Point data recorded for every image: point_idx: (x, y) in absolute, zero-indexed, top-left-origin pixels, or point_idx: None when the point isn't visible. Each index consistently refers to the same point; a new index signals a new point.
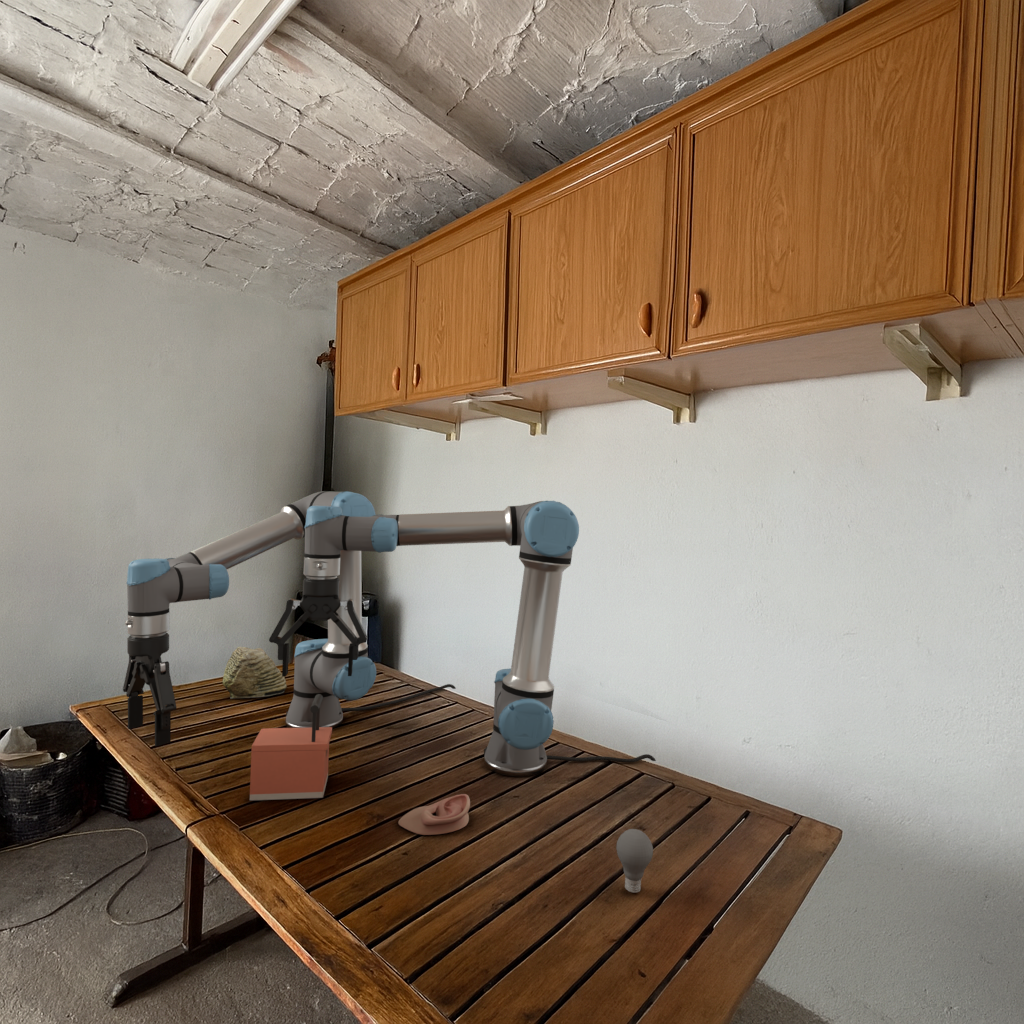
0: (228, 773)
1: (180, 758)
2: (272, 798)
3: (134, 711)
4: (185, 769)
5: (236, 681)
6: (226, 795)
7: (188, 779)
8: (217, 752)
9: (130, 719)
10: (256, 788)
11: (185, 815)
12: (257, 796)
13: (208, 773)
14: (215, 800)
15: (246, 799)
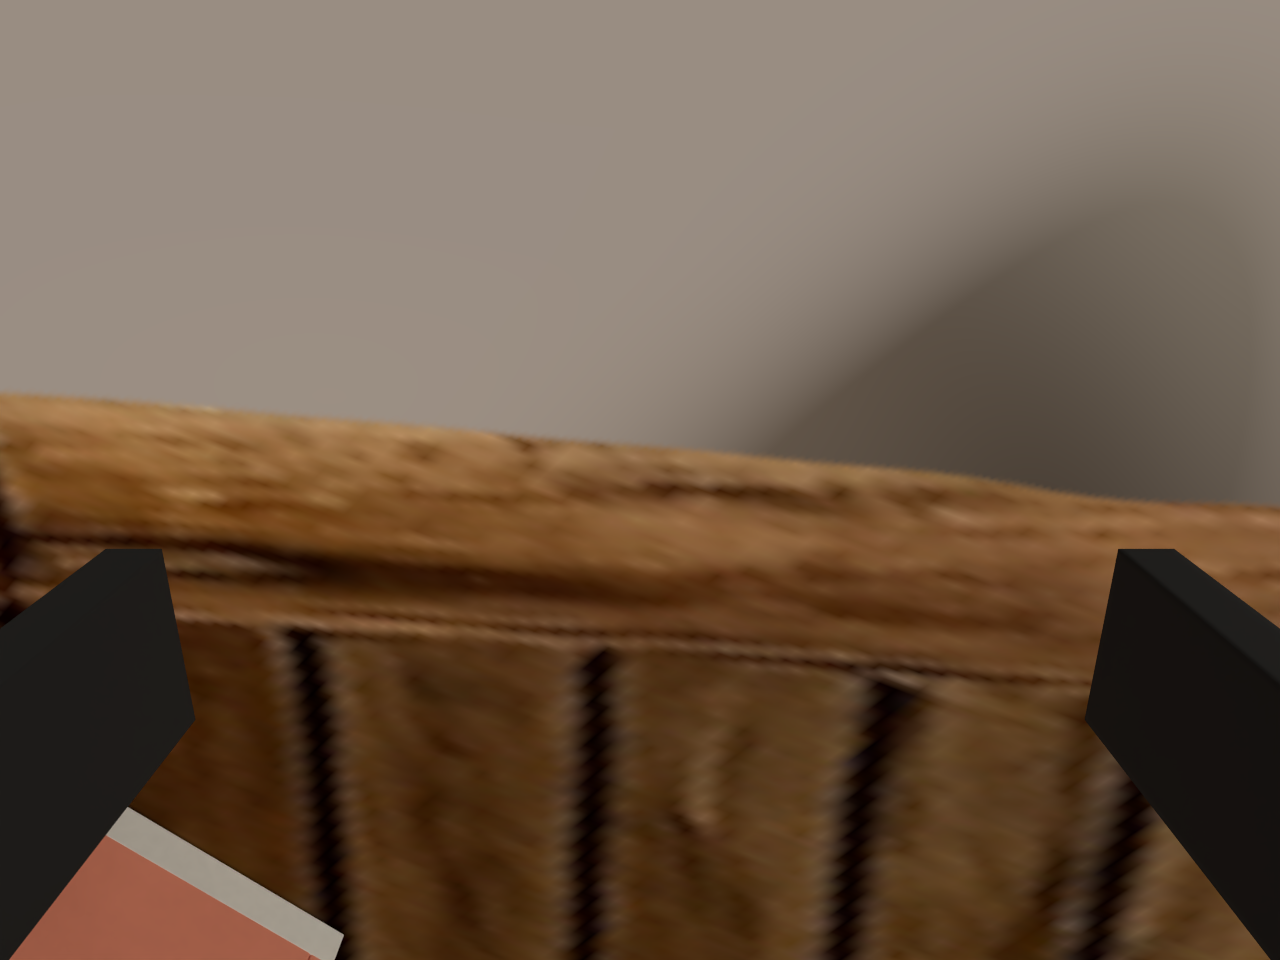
0: (567, 864)
1: (1056, 774)
2: None
3: (1268, 785)
4: (844, 724)
5: None
6: (249, 727)
7: (665, 673)
8: (944, 952)
9: (1202, 642)
10: None
11: (108, 441)
12: None
13: (661, 790)
14: (218, 656)
15: None
